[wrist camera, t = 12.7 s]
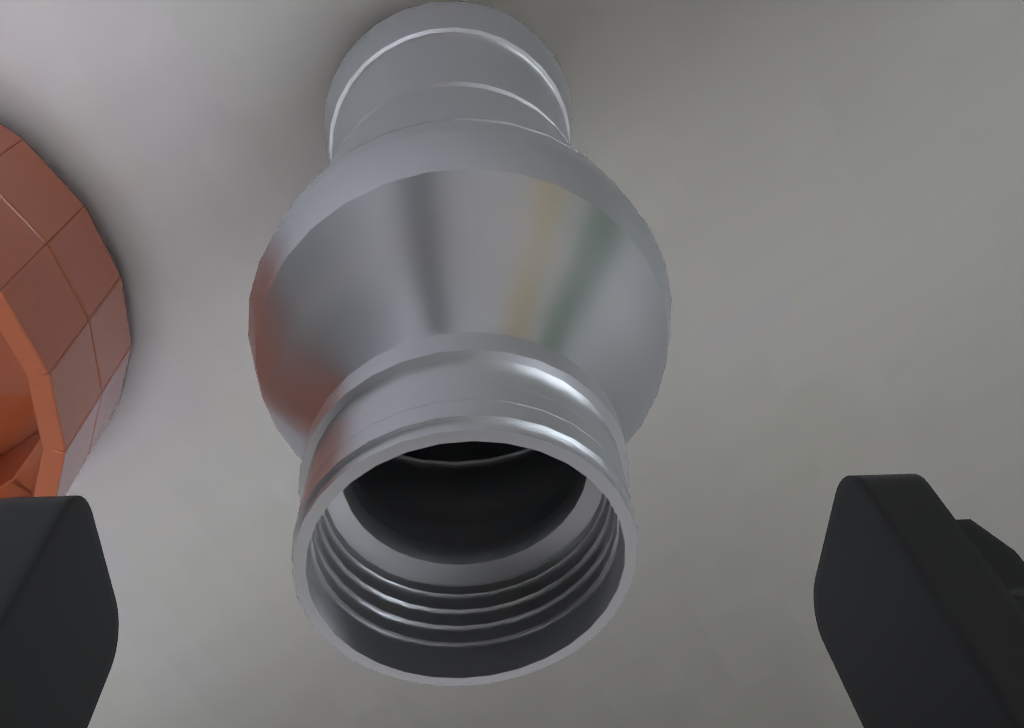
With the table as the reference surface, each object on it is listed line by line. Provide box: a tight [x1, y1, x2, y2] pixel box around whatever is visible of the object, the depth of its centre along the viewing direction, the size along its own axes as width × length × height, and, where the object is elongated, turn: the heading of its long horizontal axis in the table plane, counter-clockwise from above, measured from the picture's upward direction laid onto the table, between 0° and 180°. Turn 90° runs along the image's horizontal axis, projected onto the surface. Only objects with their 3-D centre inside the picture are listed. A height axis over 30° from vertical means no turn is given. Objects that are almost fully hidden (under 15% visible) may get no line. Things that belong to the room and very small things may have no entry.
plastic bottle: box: [248, 1, 672, 686], centre depth 18 cm, size 6×7×20 cm
